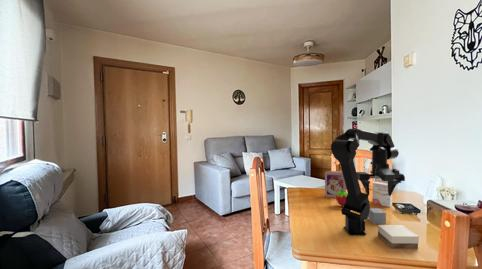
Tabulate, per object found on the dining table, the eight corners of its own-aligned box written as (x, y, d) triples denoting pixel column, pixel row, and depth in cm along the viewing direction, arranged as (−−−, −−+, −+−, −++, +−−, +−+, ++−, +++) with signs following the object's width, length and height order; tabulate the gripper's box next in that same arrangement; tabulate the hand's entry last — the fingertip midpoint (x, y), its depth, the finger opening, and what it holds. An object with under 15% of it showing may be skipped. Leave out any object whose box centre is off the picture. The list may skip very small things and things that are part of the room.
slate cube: (374, 224, 101) (374, 212, 101) (368, 219, 106) (368, 208, 106) (385, 224, 101) (385, 212, 101) (379, 219, 106) (379, 208, 106)
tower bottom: (391, 249, 82) (391, 242, 82) (377, 237, 91) (377, 231, 91) (417, 250, 81) (418, 243, 81) (401, 237, 90) (401, 231, 90)
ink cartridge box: (372, 203, 126) (372, 176, 125) (374, 201, 130) (374, 175, 129) (390, 207, 120) (390, 179, 119) (392, 204, 124) (392, 177, 123)
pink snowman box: (324, 196, 139) (324, 172, 138) (325, 193, 146) (325, 169, 145) (345, 198, 134) (345, 173, 134) (345, 195, 141) (345, 170, 140)
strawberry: (348, 210, 117) (348, 190, 117) (334, 206, 123) (334, 188, 122) (352, 206, 122) (352, 188, 121) (338, 203, 127) (338, 185, 126)
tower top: (392, 243, 81) (392, 236, 81) (378, 231, 90) (378, 225, 90) (418, 243, 81) (418, 236, 81) (401, 231, 90) (401, 225, 90)
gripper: (366, 163, 95) (365, 201, 95) (414, 163, 93) (413, 201, 94) (354, 159, 106) (354, 193, 106) (397, 159, 104) (396, 193, 105)
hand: (378, 195), depth 103 cm, fingers open, 9 cm apart
